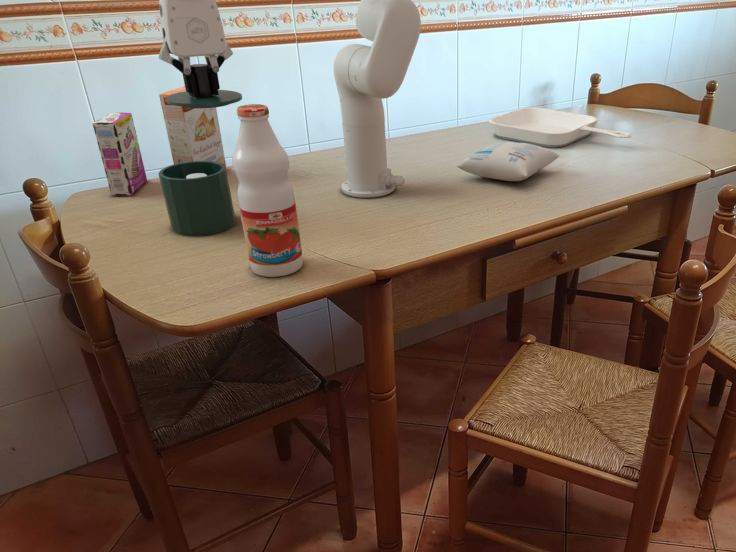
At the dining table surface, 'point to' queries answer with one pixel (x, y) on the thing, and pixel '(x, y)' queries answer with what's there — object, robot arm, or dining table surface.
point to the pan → (547, 127)
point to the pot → (197, 198)
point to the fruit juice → (265, 196)
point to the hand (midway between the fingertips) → (203, 94)
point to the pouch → (508, 161)
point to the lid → (203, 92)
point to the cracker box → (192, 132)
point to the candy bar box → (120, 153)
